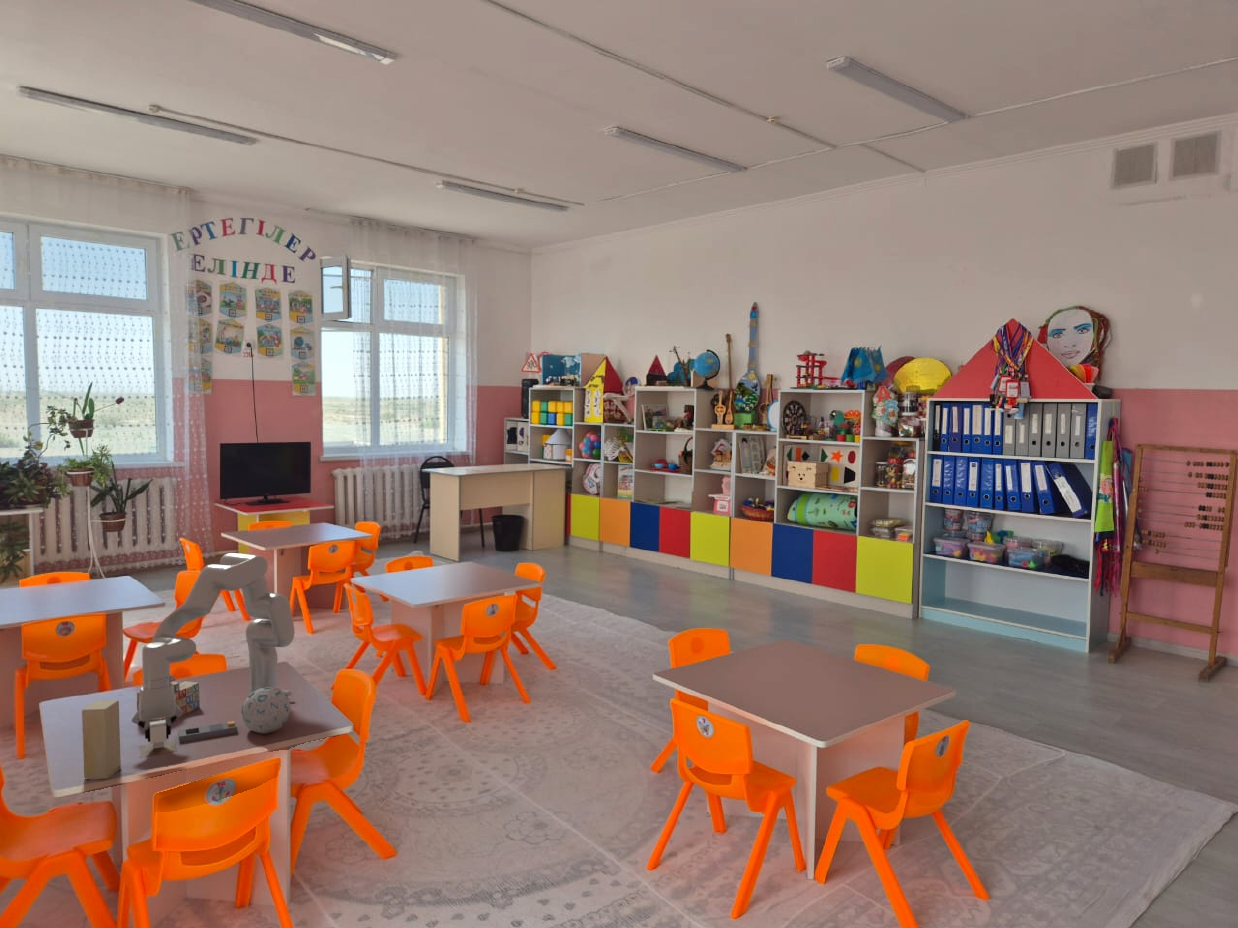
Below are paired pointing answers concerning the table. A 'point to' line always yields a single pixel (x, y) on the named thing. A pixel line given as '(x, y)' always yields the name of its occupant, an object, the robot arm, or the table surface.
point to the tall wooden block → (101, 739)
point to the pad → (158, 749)
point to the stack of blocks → (182, 697)
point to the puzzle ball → (266, 710)
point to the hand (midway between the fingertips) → (158, 738)
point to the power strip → (207, 731)
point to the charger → (158, 733)
